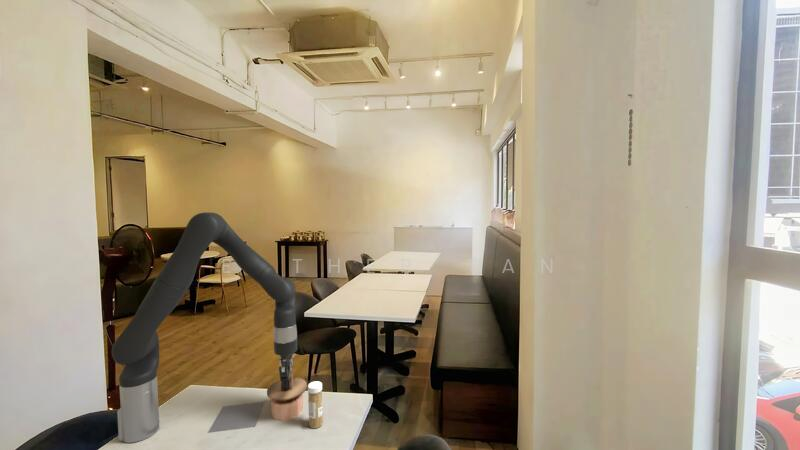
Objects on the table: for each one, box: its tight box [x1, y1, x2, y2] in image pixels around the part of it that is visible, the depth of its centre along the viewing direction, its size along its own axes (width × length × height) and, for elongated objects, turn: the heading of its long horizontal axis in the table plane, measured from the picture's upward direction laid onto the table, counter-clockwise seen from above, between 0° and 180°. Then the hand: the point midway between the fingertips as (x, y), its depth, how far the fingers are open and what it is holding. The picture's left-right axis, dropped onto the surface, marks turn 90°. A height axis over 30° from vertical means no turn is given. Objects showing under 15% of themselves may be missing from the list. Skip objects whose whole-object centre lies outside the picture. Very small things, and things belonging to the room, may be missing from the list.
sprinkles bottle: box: [307, 380, 324, 429], centre depth 106 cm, size 5×5×13 cm
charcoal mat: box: [207, 401, 266, 434], centre depth 110 cm, size 14×14×1 cm
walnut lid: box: [266, 371, 308, 401], centre depth 112 cm, size 13×13×5 cm
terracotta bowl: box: [270, 393, 304, 421], centre depth 113 cm, size 10×10×6 cm
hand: (287, 386), depth 112 cm, fingers closed on walnut lid, 3 cm apart
